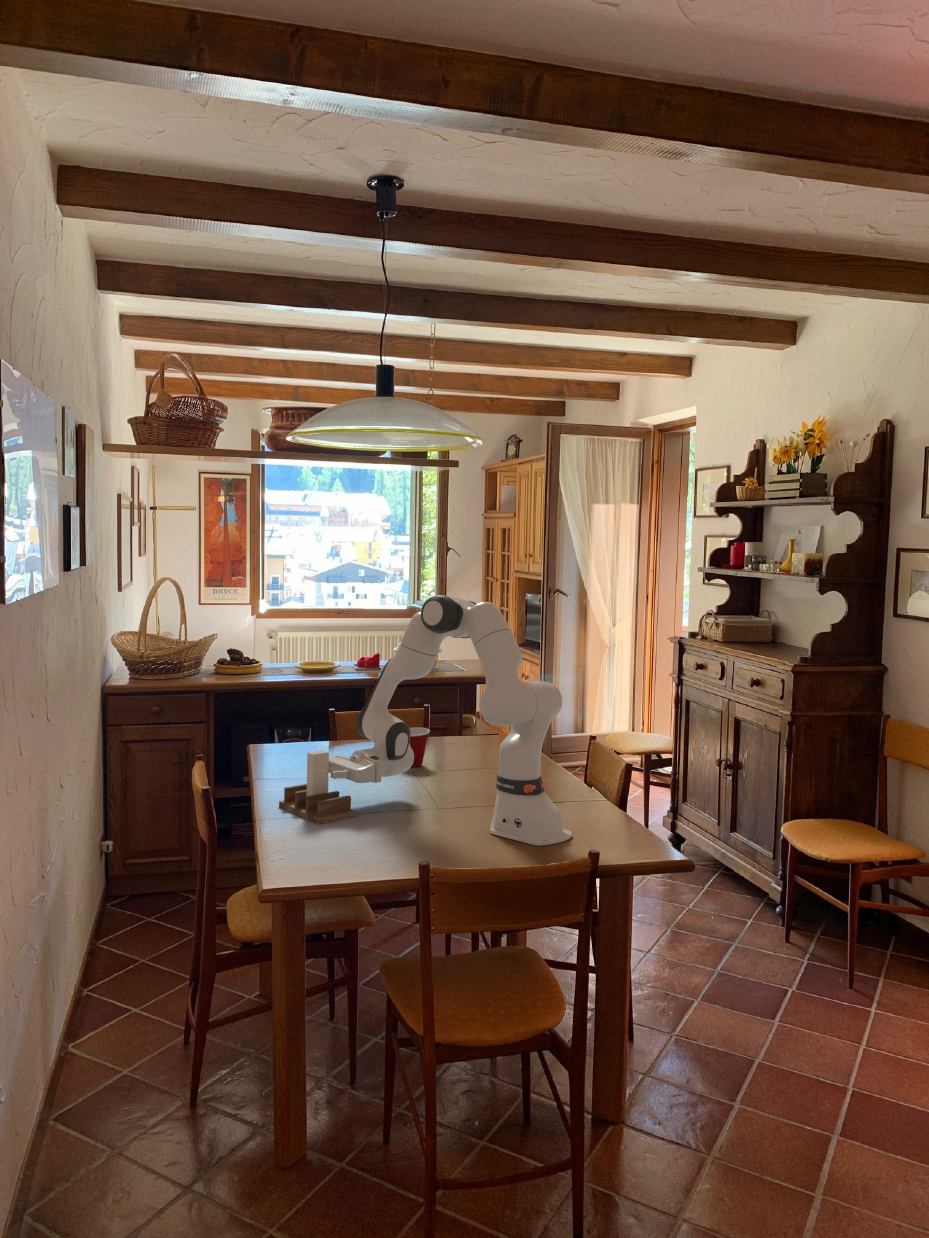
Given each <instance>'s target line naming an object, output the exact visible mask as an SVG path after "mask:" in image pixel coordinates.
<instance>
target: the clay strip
mask: <svg viewBox="0 0 929 1238" xmlns="http://www.w3.org/2000/svg"><path fill="white" fill-rule="evenodd" d="M329 755H330V752H329V751H326V750H324V749H323V750H315V751H309V752H307V757H306V768H307V769H306V784H307V796H311V795H317V794H323V793H328V792H329V774H330V773H329Z"/></svg>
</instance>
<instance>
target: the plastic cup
mask: <svg viewBox="0 0 929 1238" xmlns="http://www.w3.org/2000/svg"><path fill="white" fill-rule="evenodd" d="M409 728H410V733H411V735H410V742H409V743H410V747H411V749H412V750H413V753H414V761H413V764H412V766H413V767H412V768H416V767H415V766H420V767H421V765H423V762H424V757H425V752H426V748H427V747H426V746H427V741H428V739H429V738H428V737H429V735H430V733H431V730H430V729H429V728H427V727H409Z"/></svg>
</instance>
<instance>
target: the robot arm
mask: <svg viewBox="0 0 929 1238" xmlns="http://www.w3.org/2000/svg"><path fill="white" fill-rule="evenodd" d="M448 637H451V638H460V639H470V640H471V643H472V645H473V647H474V650H475V652H476V654H477V656H478V659H479V662H480V664H481V666H482V670H483V672H484V677H485V690H484V691H483V693H482V695H481V698H480V702H479V709H480V713H481V716H482V718H483V719H484V720H485V722H486V723H487V724H489V725H491V726H496V727H497V726H498V727H511V729H510V730H509V732H508V735H507V736H506V737H505V738H504V739H503V740H502V741H501V743H500V745H499V747H498V748H499V750H498V751H499V752H498V753H499V754H498V772H497V774H496V778H495V779H496V780H495V788H496V789H497V791H496V797H495V802H494V808H493V814H492V819H491V822H490V825H489V827H490V829H489V833H490V834H491V835H494V836H499V837H502V838H505V839H510V840H514V841H516V842H517V841H518V842H521V843H525V844H528V845H532V846H549V845H554V844H560V843H562V842H565V841H568V840H570V839H571V838H572V837H573V832H572V831H570V830H568V829H566V828H564V818H563V813H562V812H561V810H560V809H559V808H558V807H557V806H556V804H555V803H554V802H553V800H551V799H550V797H549V795H548V794H546V793H545V790H546V789H545V788H546V787H548V785H547V784H548V782H547V781H546V782H543V778H542V776H541V764H542V762H541V761H542V760H541V759H542V750H543V745H544V741H545V737H546V735H547V732H548V729H549V727H550V725H551V723H552V721H553V720H554V719H555V717H556V716H557V715H558V714H559V712H560V711H561V709H562V707H563V697H562V693H561V691H560V689H559V687H558V686H557V685H556V684H554V683H552V682H548V681H544V680H543V681H542V680H531V681H523V682H522V680H521V679H520V676H519V671H518V668H519V667H520V665H521V664H522V661H523V652H522V651H521V649H520V646H519V644H518V641H517V640H516V638H515V635H514V634H513V631H512V629H511V627H510V625H509V623H508V621H507V619H506V618H505V617H504V615H503V613H502V612H501V610H499V607H497V605H496V604H495V603H493V602H490V601H480V602H479V603H476V602H475V601H471V600H466V599H464V598H461V597H458V596H451V595H444V594H439V595H433V596H430V597H429V598H427V599H426V600H425V601H424V602H423V604H422V606H421V609H420V611H417V612H416V613H414V614H413V616H412V617H411V619H410V620H409V623H408V625H407V626H406V628H405V631H404V633H403V635H402V638H401V641H400V644H399V646H398V649H397V651H396V653H395V654H394V656H393V657H392V658H389V659H388V661H387V662H386V663H385V664H384V666H383V669H382V670H381V673H380V674H379V677H378V678H377V680H376V682H375V684H374V686H373V689H372V691H371V693H370V695H369V697H368V700H367V702H366V703H365V704H364V707H362V709H361V710H360V712H359V714H358V716H357V718H356V726H355V727H356V731H357V733H358V734H359V735H360V736H361V737H363V738H365V739H366V740H369V741H371V742H372V743H374V746H373V747H372V748H364V749H357V750H354V751H353V752H352V754H351V756H346V755H343V754H329V774H330V778H331V779H333V780H337V779H343V780H345V779H346V780H348V781H351V782H354V783H358V784H365V783H375V784H377V783H381V782H382V778H388V777H394V776H397V775H400V774H404V773H405V772H407V771H408V770H410V769H411V768H412V767H411V766H412V764H413V761H414V753H413V750H412V749H411V747H410V743H409V742H410V735H411V733H410V728H411V727H410V726H409V724H407V723H406V722H404V720H401V719H400V718H398V717H397V716H394V715H393V714H392V713H390V712H389V710H388V706H389V704H390V701H391V699H392V697H393V695H394V692H395V691H396V689H397V687H398V685H399V684H400V683H401V682H403V681H406V680H417V679H421V678H424V677H426V676H427V675H429V673H430V672H432V670H433V667H434V665H435V663H436V660H437V657H438V654H439V650H440V647H441V644H442V643H443V641H444V640H445V639H446V638H448Z"/></svg>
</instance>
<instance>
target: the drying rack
mask: <svg viewBox="0 0 929 1238" xmlns="http://www.w3.org/2000/svg"><path fill="white" fill-rule="evenodd" d="M283 787H284V786H283ZM283 791H284V795H283V796H284V797H283V800H279V801H278V807H279V808H281V809H284V810H286V811H287V812H290V813H292V814H294V815H296V816H299V817H301V818H303V817H304V818H303V819H305V818H306V819H305V820H307V819H308V821H310V822H312V823H314V822H315V823H314V824H316V823H322V824H325V822H327V823H331V822H335V820H336V821H340V820H341V821H342V820H345V819H344V818H346V819H349V818H350V817H351V818H355V816H357V810H354V809H352V807H351V806H352V805H351V804H352V796H351V795H344V796H340V791H338V790H336V791H335V790H334V791H330V792H329V791H328V793H323V794H317V795H311V796H307V783H302V784H298V785H292V786H291V785H290V786H285V787H284V790H283Z"/></svg>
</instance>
